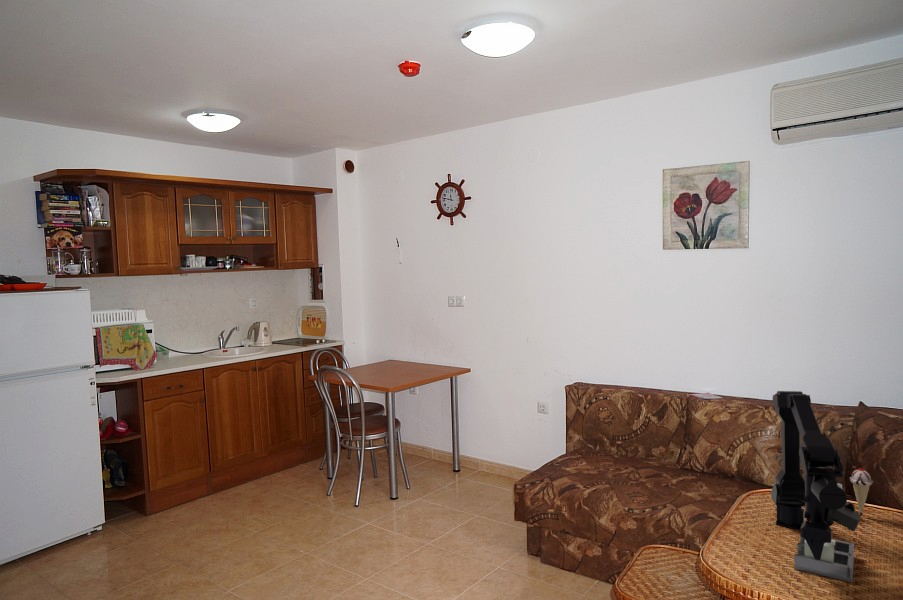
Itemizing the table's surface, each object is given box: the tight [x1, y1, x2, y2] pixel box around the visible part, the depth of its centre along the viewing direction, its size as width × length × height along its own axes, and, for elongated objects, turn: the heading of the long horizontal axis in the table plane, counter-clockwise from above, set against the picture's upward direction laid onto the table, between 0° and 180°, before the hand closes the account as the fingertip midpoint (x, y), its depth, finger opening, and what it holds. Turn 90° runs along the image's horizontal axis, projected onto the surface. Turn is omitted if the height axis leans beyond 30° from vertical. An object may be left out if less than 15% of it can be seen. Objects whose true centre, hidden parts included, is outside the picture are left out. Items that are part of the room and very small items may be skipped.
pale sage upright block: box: [805, 540, 834, 562], centre depth 145 cm, size 6×4×6 cm, turn 54°
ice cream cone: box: [849, 467, 874, 517], centre depth 172 cm, size 6×6×15 cm
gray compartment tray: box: [793, 532, 855, 583], centre depth 148 cm, size 12×14×4 cm
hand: (818, 553), depth 145 cm, fingers open, 7 cm apart
